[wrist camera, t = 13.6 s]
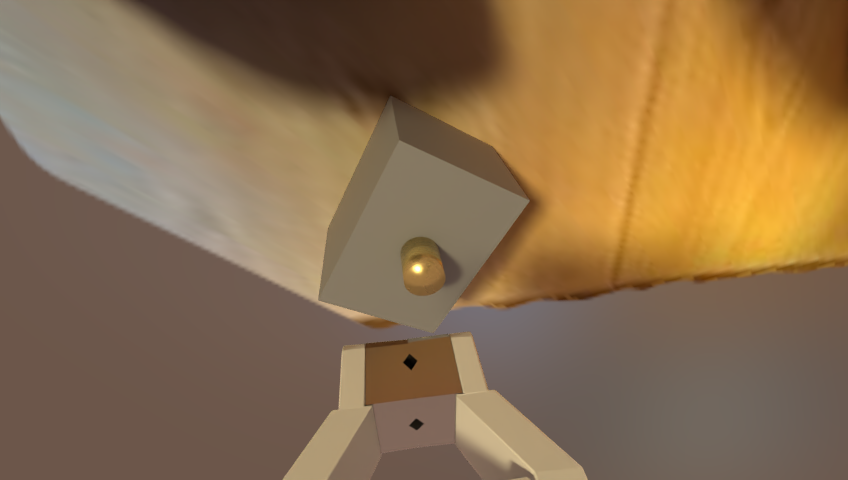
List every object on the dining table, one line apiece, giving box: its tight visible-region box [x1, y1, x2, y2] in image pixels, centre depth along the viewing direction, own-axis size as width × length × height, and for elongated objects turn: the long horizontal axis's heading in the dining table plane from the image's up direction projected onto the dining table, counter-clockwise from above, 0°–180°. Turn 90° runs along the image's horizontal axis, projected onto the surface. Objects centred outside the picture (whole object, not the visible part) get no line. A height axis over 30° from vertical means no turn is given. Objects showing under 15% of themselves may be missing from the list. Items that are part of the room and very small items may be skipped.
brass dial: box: [400, 237, 445, 296], centre depth 36 cm, size 4×4×4 cm
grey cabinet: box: [318, 95, 530, 333], centre depth 43 cm, size 13×18×13 cm
